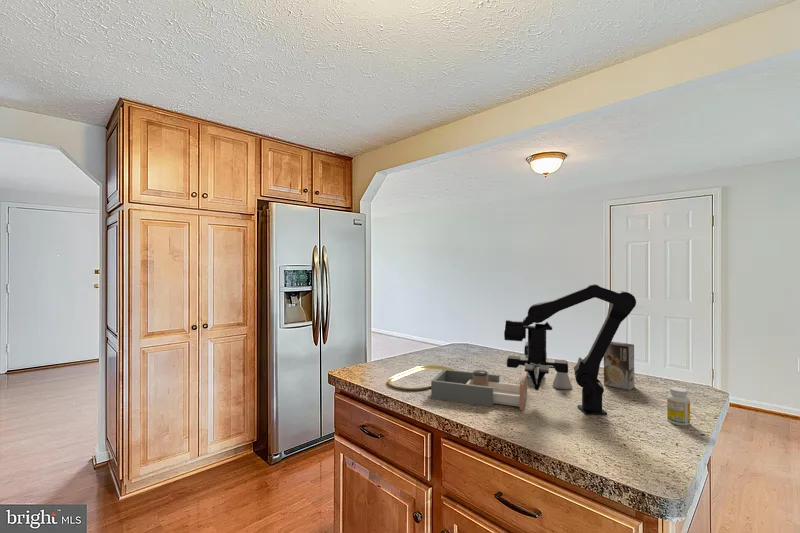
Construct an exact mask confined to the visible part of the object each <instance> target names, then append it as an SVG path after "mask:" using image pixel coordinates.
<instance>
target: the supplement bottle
mask: <svg viewBox="0 0 800 533" xmlns="http://www.w3.org/2000/svg"><path fill="white" fill-rule="evenodd" d="M669 392H670V394H668V395H667V397H666V398H667V400H666V401H667V405H666V407H667V410H666V412H667V413H666V414H667V416H666V418H667V421H668V422H669V423H670V424H673V425H677V426H682V427H683V426H684V427H685V426H689V425H690V423H691V400H690V398H689V397H688V390H687V389H685V388H683V387H676V386H675V387H674V386H672V387H670V390H669Z"/></svg>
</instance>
